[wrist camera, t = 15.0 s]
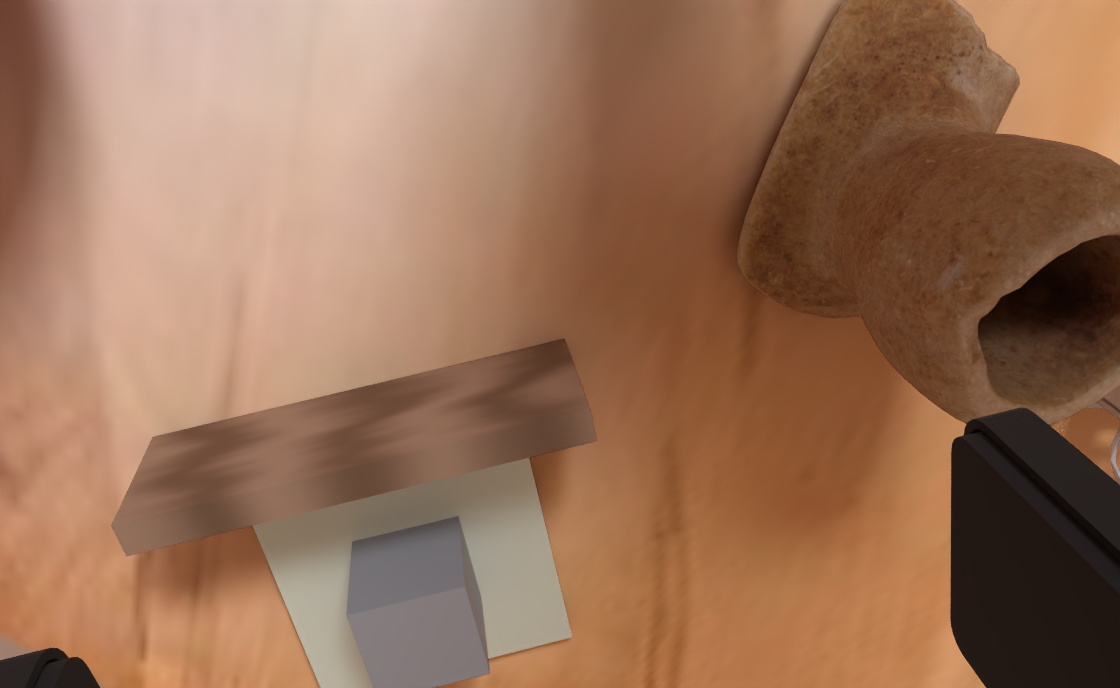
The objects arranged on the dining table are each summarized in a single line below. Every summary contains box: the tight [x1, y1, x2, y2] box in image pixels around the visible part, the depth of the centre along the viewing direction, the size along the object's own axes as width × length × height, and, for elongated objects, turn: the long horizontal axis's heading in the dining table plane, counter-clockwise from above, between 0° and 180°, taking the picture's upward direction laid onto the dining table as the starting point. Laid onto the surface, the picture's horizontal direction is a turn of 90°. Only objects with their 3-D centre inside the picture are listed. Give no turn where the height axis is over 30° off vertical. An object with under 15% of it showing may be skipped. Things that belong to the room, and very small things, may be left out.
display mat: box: [253, 458, 572, 688], centre depth 49 cm, size 14×14×1 cm
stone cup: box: [737, 0, 1120, 425], centre depth 37 cm, size 15×12×15 cm
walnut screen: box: [111, 339, 597, 556], centre depth 42 cm, size 20×2×7 cm, turn 101°
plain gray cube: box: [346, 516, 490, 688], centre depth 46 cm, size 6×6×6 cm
